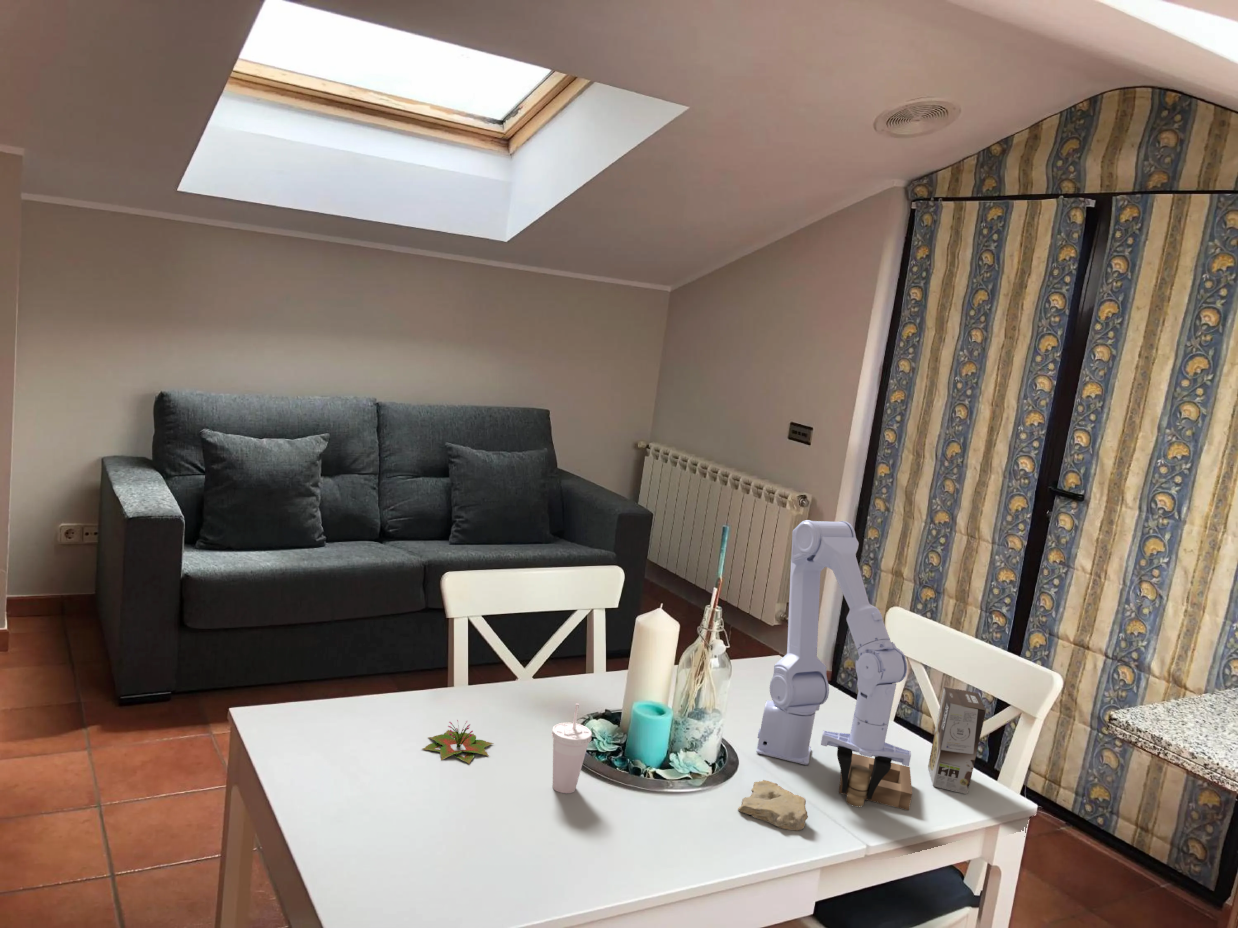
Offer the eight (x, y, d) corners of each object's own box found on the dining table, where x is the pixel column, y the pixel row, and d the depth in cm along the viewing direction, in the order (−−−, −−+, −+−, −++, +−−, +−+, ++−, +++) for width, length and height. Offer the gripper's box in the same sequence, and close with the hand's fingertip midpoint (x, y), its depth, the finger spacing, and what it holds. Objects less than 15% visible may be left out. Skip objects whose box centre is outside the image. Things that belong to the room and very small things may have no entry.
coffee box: (969, 795, 175) (987, 710, 172) (932, 786, 176) (949, 702, 174) (962, 773, 184) (979, 692, 181) (926, 765, 185) (943, 684, 182)
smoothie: (590, 786, 158) (602, 704, 156) (572, 801, 152) (584, 717, 150) (556, 773, 161) (567, 693, 158) (536, 788, 155) (548, 705, 153)
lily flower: (472, 774, 157) (476, 747, 157) (408, 753, 161) (411, 727, 160) (505, 746, 169) (508, 721, 168) (444, 727, 172) (447, 703, 172)
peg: (843, 804, 165) (850, 771, 164) (844, 794, 168) (850, 762, 167) (865, 809, 164) (872, 776, 163) (865, 800, 167) (871, 767, 166)
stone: (719, 789, 162) (770, 773, 166) (720, 809, 162) (771, 793, 166) (762, 823, 150) (816, 805, 154) (764, 844, 150) (817, 826, 154)
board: (839, 792, 168) (842, 776, 168) (840, 766, 179) (843, 751, 178) (908, 810, 166) (912, 793, 165) (906, 782, 176) (909, 766, 176)
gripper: (826, 716, 161) (812, 792, 163) (917, 737, 158) (901, 815, 160) (828, 701, 168) (814, 774, 170) (915, 721, 165) (899, 796, 167)
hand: (856, 793), depth 166 cm, fingers closed on peg, 3 cm apart
